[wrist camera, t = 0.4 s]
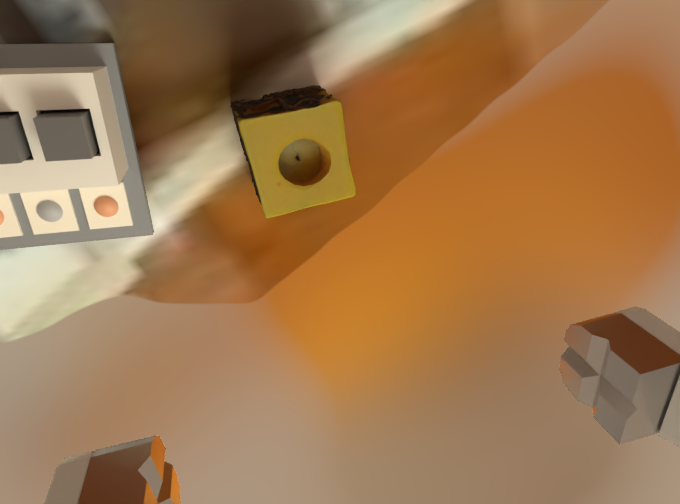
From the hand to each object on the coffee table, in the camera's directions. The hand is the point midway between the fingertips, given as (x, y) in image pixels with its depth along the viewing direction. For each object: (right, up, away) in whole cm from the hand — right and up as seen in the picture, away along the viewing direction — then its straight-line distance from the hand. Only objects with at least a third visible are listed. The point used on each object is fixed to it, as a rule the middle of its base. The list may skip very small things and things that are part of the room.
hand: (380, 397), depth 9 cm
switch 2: (-26, +15, +34) cm, 46 cm away
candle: (-7, +16, +43) cm, 47 cm away
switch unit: (-32, +13, +37) cm, 51 cm away
